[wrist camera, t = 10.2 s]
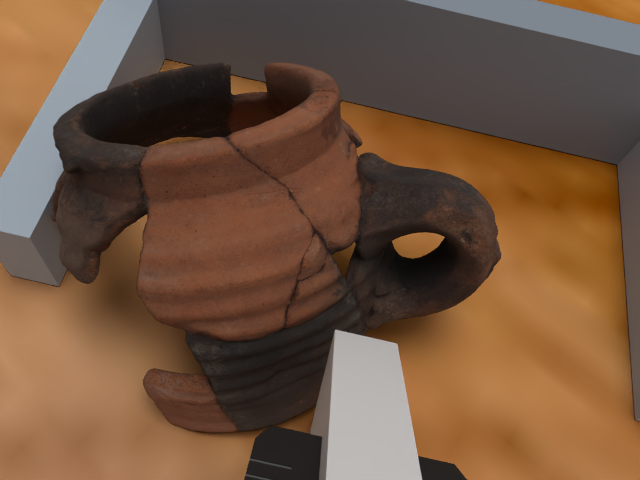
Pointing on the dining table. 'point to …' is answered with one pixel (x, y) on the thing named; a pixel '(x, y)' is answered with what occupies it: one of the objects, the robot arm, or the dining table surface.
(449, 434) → the dining table surface
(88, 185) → the pottery mug
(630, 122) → the seat channel
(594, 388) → the dining table surface
